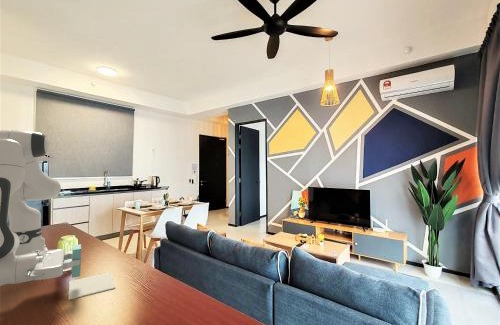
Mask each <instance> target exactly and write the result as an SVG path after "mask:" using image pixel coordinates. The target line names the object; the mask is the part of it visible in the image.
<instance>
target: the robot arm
mask: <svg viewBox="0 0 500 325" xmlns="http://www.w3.org/2000/svg"><path fill="white" fill-rule="evenodd" d="M49 146H50V143H49V140H48V139H47V135H45V134H44V133H42V132H37V131H27V130H26V131H25V130H17V129H16V130H15V129H11V130H9V129H8V130H5V129H4V130H3V129H0V287H1V286H5V285H8V284H13V285H16V284H20V283H24V282H30V281H41V280H42V281H43V280H49V279H54V278H58V277H61V276H63V273H64V270H68V269H70V268H72V267H73V266H76V265H79V264H80V260H79V259H75V260H73V261H72V252H68V253H66V250H65V249H64V248H56V249H48V247H47V245H46V239H45V237H43V236H42V234H43V233H42V232H43V228H42V227H41V226H42V213H41V211H40V210H39V209H37V208H36V207H35V208H34V207H32V206H29V205H28V204H27V203H26V202H27V201H28V202H29V201H46V200H50V199H55V198H56V197H58V195H59V194H60V193H61V190H62V186H61V184H60V182H59V181H58V180H57V179H56V178H52V177H50V176H49V175H47V174H46V173H45V172H44V171H43V170H42V169H41V167H40V164H39V160H38V158H40V157H44V156H45V155H46V154H47V152H48V150H49ZM8 220H9V222H8ZM67 260H68V261H67ZM70 260H71V261H70Z"/></svg>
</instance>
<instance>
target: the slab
mask: <svg viewBox="0 0 500 325" xmlns="http://www.w3.org/2000/svg"><path fill="white" fill-rule="evenodd" d="M71 253H72V259H71V261H73V260H75V259H79V260H80V264H79V265H76V266H73V267H71V278H72V279H73V278H78V277H81V262H82V244H81V243H80V244H74V245H72V250H71Z"/></svg>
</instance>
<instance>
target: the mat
mask: <svg viewBox="0 0 500 325" xmlns="http://www.w3.org/2000/svg"><path fill="white" fill-rule="evenodd" d="M114 289H116V286H115V282H114V278H113V276H112V273H111V271H110V272H106V273H101V274H97V275H90V276H87V277H82V278H76V279H74V280H69V282H68V301H70V300H74V299H78V298H81V297H82V298H83V297H86V296H90V295H95V294H99V293H102V292H106V291H110V290H114Z"/></svg>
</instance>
